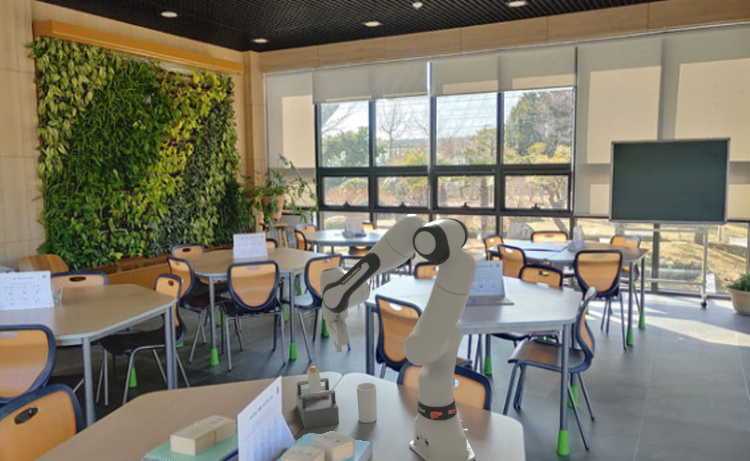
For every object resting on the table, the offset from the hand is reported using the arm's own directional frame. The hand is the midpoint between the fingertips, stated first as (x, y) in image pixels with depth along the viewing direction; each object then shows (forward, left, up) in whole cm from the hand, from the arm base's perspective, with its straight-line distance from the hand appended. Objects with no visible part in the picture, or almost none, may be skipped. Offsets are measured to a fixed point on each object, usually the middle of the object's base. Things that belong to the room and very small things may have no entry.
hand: (338, 351), depth 199 cm
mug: (-4, -9, -24) cm, 26 cm away
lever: (+5, +8, -17) cm, 20 cm away
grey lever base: (+5, +8, -24) cm, 26 cm away
